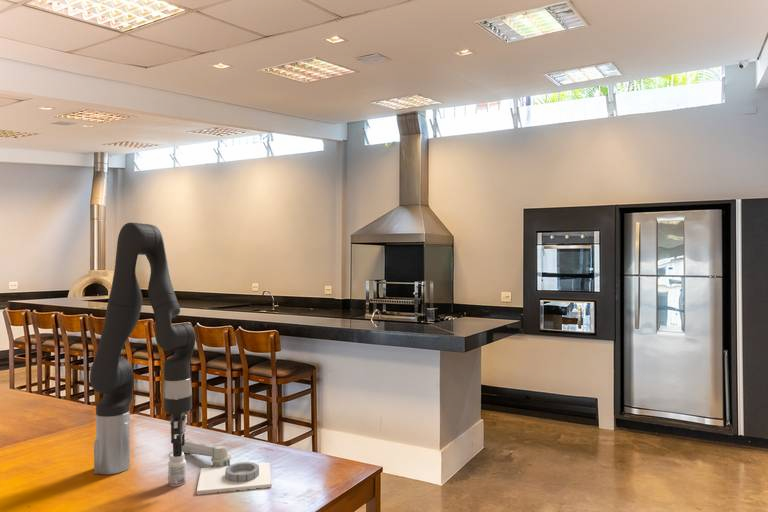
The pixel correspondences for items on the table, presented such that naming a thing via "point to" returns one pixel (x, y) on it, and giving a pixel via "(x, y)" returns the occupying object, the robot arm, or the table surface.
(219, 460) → the rod with end cap
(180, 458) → the pill bottle
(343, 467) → the table surface
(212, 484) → the collar plate
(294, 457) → the table surface
